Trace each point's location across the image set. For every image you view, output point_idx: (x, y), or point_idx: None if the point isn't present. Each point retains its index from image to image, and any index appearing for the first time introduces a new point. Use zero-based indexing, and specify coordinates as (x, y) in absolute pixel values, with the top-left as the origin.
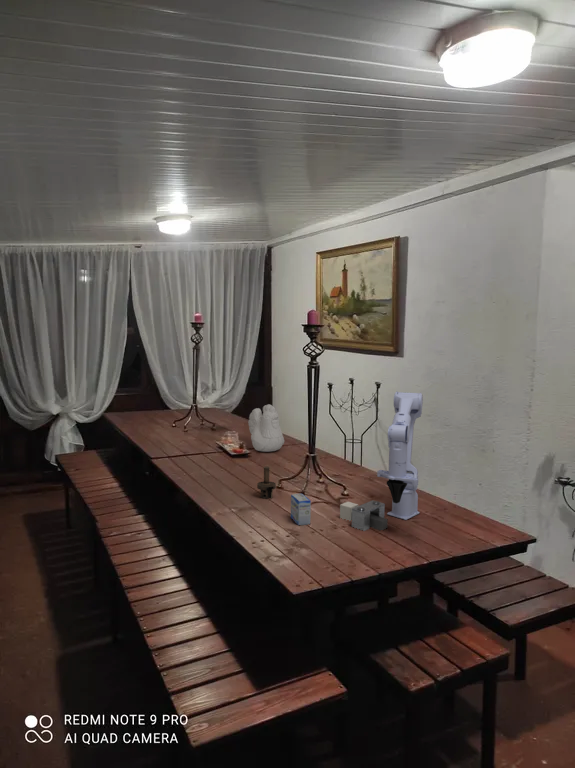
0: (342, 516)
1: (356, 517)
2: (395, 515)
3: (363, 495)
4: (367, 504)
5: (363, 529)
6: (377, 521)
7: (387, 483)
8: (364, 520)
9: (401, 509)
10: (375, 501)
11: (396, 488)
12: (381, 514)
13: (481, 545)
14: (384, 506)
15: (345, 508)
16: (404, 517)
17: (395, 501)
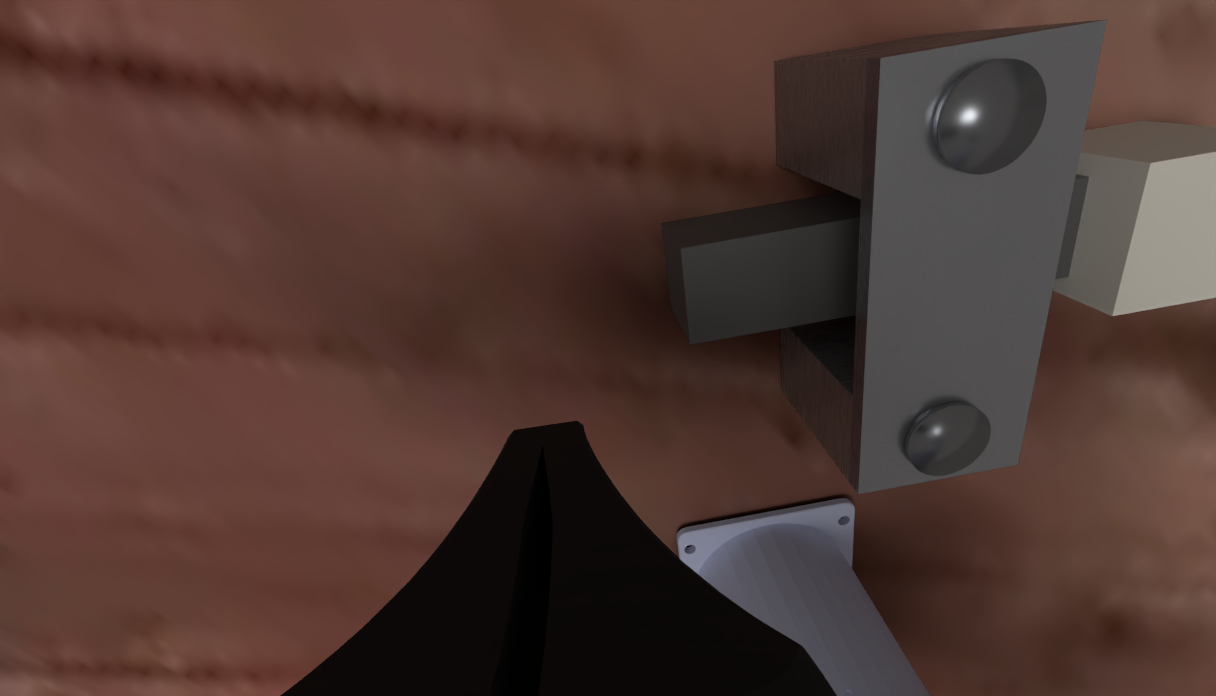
0: (1136, 128)
1: (948, 39)
2: (777, 521)
3: (1173, 601)
4: (1001, 326)
5: (786, 59)
6: (736, 233)
7: (755, 667)
8: (823, 65)
9: (750, 584)
10: (967, 452)
11: (388, 654)
12: (812, 388)
13: (15, 612)
14: (843, 471)
15: (1198, 146)
16: (705, 544)
17: (519, 438)
